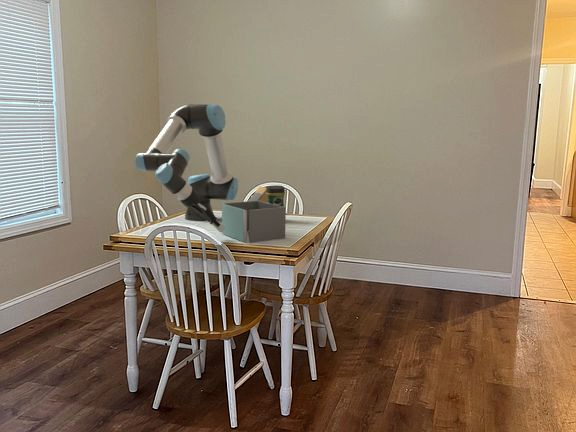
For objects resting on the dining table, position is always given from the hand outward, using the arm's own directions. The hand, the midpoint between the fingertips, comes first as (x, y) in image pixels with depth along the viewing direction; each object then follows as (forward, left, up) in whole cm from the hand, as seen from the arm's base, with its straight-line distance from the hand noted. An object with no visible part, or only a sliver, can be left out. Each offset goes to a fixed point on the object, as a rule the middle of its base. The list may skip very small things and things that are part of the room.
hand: (222, 230), depth 241 cm
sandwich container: (+13, +68, -4) cm, 69 cm away
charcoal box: (+14, +7, -4) cm, 16 cm away
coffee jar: (+25, +46, -4) cm, 53 cm away
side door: (+5, +2, -4) cm, 6 cm away
